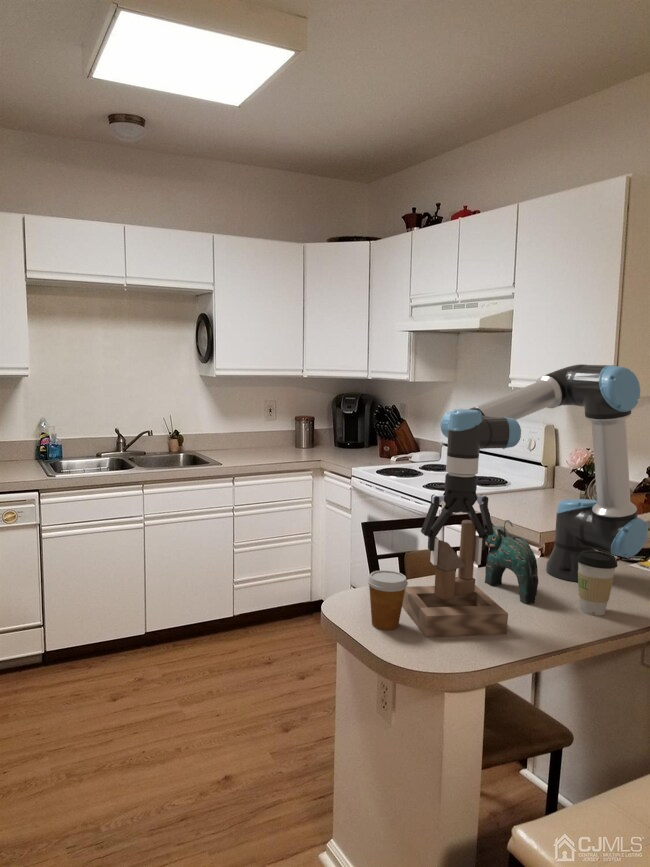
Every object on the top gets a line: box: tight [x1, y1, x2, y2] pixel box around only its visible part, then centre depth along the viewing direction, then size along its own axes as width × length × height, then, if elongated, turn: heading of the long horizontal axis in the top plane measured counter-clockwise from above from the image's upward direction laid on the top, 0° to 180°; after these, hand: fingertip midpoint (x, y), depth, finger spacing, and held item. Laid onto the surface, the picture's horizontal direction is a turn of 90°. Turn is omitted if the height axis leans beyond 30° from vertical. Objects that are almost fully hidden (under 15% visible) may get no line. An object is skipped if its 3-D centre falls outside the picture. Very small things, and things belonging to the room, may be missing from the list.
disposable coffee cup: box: [367, 569, 409, 631], centre depth 157 cm, size 10×10×12 cm
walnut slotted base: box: [402, 584, 509, 638], centre depth 163 cm, size 20×19×5 cm
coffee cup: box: [577, 550, 619, 617], centre depth 171 cm, size 10×10×15 cm
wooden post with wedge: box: [434, 519, 477, 600], centre depth 161 cm, size 4×11×18 cm, turn 125°
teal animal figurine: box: [484, 519, 539, 605], centre depth 183 cm, size 20×6×20 cm, turn 23°
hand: (455, 563), depth 161 cm, fingers closed on wooden post with wedge, 10 cm apart
